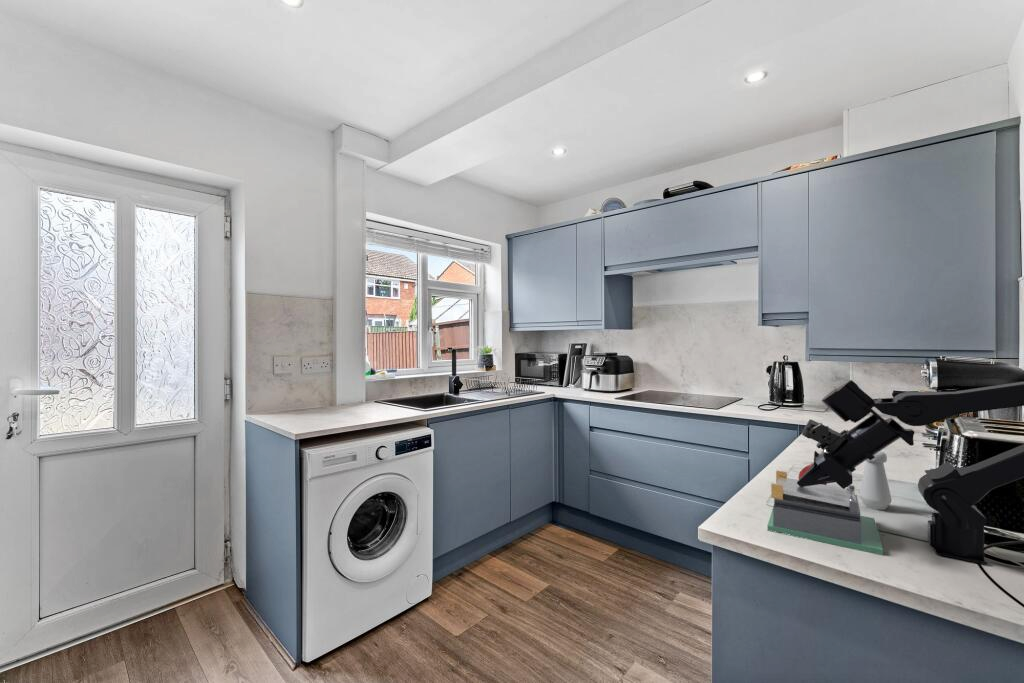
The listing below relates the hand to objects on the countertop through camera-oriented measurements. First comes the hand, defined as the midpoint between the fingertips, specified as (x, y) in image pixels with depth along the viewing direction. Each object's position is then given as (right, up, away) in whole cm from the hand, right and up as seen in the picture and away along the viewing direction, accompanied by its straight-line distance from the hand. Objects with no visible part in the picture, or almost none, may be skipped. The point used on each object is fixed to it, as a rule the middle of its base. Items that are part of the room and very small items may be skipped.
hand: (798, 484), depth 93 cm
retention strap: (+2, -1, -2) cm, 3 cm away
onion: (+14, -8, +17) cm, 24 cm away
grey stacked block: (+2, -7, -2) cm, 7 cm away
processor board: (+3, -8, -2) cm, 9 cm away
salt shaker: (+23, -8, +8) cm, 26 cm away
